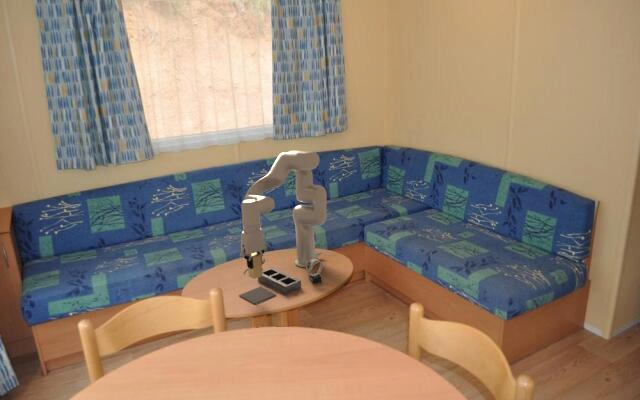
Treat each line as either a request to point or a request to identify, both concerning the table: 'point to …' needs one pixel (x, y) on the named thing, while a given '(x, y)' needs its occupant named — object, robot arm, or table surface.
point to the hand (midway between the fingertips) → (254, 265)
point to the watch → (315, 276)
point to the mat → (257, 295)
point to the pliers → (262, 263)
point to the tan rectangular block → (256, 266)
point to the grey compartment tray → (280, 281)
